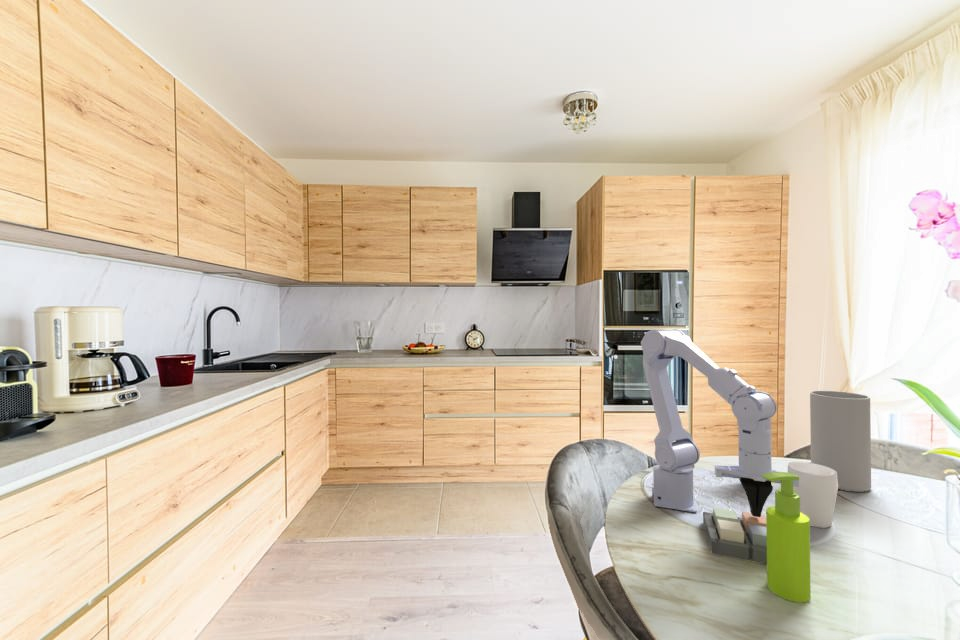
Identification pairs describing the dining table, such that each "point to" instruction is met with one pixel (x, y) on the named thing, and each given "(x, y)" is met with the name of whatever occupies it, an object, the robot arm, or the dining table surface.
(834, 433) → the cylinder vase
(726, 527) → the ivory key
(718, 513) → the sage key
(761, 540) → the slate key
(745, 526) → the terracotta key
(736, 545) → the grey divided tray
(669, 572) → the dining table surface
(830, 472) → the cup
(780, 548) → the soap dispenser
